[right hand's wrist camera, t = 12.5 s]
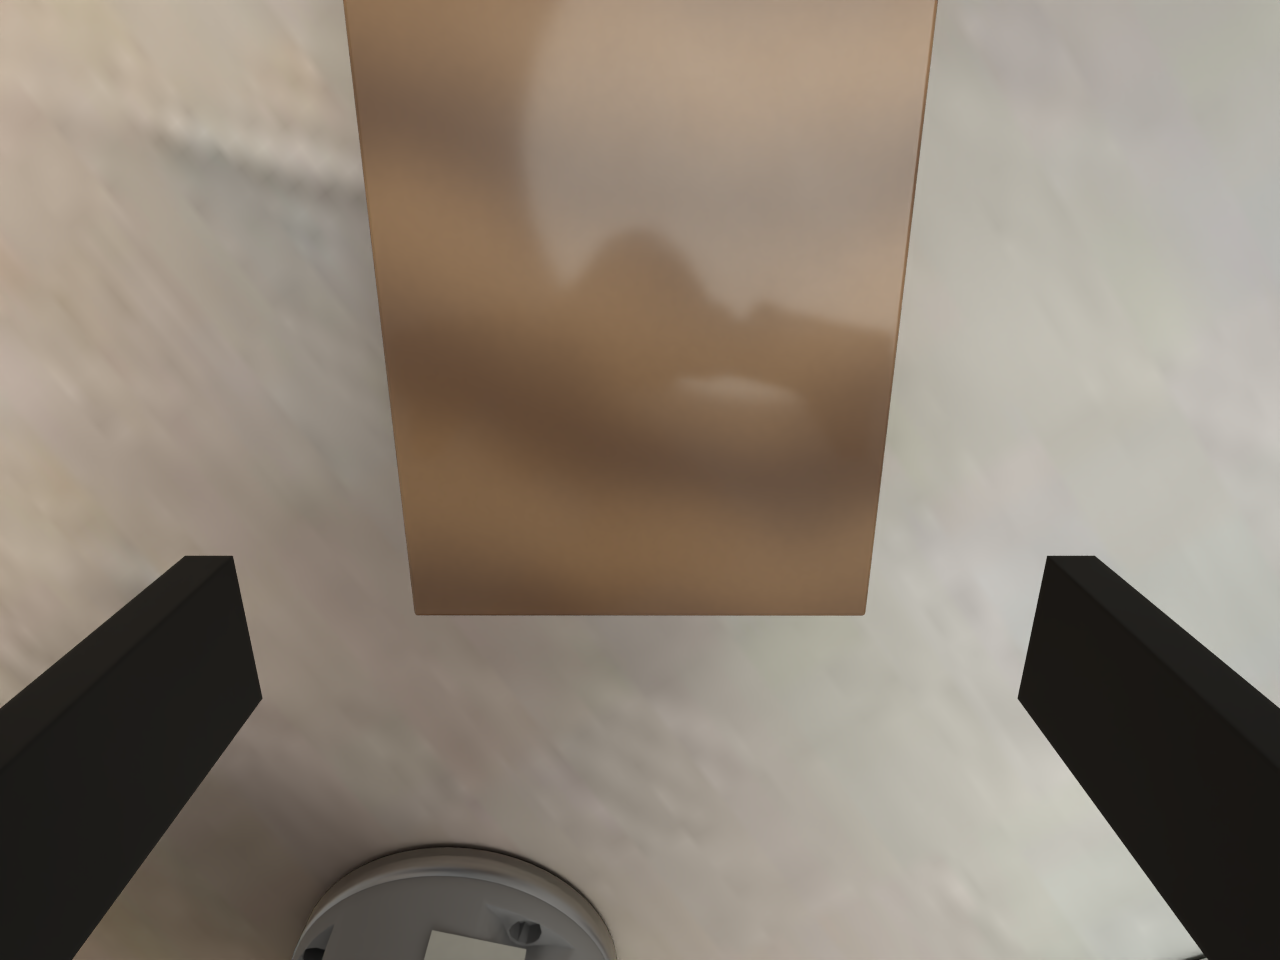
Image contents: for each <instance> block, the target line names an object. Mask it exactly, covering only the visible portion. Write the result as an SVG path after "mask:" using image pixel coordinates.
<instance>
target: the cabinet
mask: <svg viewBox="0 0 1280 960" xmlns="http://www.w3.org/2000/svg"><path fill="white" fill-rule="evenodd" d="M343 4H344V12H345V21H346V29H347V38H348V46H349V55H350V63H351V72H352V81H353V89H354V98H355V106H356V115H357V123H358V132H359V140H360V149H361V158H362V166H363V175H364V183H365V192H366V200H367V209H368V218H369V226H370V235H371V243H372V252H373V260H374V269H375V277H376V286H377V295H378V303H379V312H380V320H381V329H382V337H383V346H384V354H385V363H386V372H387V380H388V389H389V397H390V406H391V414H392V423H393V431H394V440H395V449H396V457H397V466H398V474H399V483H400V491H401V500H402V508H403V517H404V526H405V534H406V543H407V551H408V560H409V568H410V577H411V586H412V594H413V603H414V611H415V614H416V615H864V614H865V611H866V602H867V594H868V585H869V577H870V569H871V560H872V552H873V543H874V535H875V526H876V518H877V510H878V501H879V493H880V484H881V476H882V468H883V459H884V451H885V442H886V434H887V425H888V417H889V409H890V400H891V392H892V383H893V375H894V366H895V358H896V350H897V341H898V333H899V324H900V316H901V307H902V299H903V291H904V282H905V274H906V265H907V257H908V248H909V240H910V232H911V223H912V215H913V206H914V198H915V189H916V181H917V173H918V164H919V156H920V147H921V139H922V130H923V122H924V114H925V105H926V97H927V88H928V80H929V72H930V63H931V55H932V46H933V38H934V29H935V21H936V13H937V4H938V0H343Z"/></svg>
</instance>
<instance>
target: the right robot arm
mask: <svg viewBox="0 0 1280 960" xmlns="http://www.w3.org/2000/svg"><path fill="white" fill-rule="evenodd" d="M261 700H262V694H261V689H260V685H259V680H258V675H257V670H256V665H255V661H254V656H253V651H252V646H251V641H250V636H249V632H248V627H247V622H246V617H245V612H244V608H243V603H242V598H241V593H240V588H239V584H238V579H237V574H236V569H235V564H234V559H233V556H184V557H183V558H182V559H181V560H180V561H178V562H177V563H176V564H175V565H174V566H172V567H171V568H170V569H169V570H167V571H166V572H165V573H164V574H163V575H161V576H160V577H159V578H158V579H157V580H155V581H154V582H153V583H152V584H151V585H149V586H148V587H147V588H146V589H144V590H143V591H142V592H141V593H140V594H138V595H137V596H136V597H135V598H134V599H132V600H131V601H130V602H129V603H128V604H126V605H125V606H124V607H123V608H121V609H120V610H119V611H118V612H117V613H115V614H114V615H113V616H112V617H111V618H109V619H108V620H107V621H106V622H104V623H103V624H102V625H101V626H100V627H98V628H97V629H96V630H95V631H94V632H92V633H91V634H90V635H89V636H88V637H86V638H85V639H84V640H83V641H81V642H80V643H79V644H78V645H77V646H75V647H74V648H73V649H72V650H71V651H69V652H68V653H67V654H66V655H64V656H63V657H62V658H61V659H60V660H58V661H57V662H56V663H55V664H54V665H52V666H51V667H50V668H49V669H48V670H46V671H45V672H44V673H43V674H41V675H40V676H39V677H38V678H37V679H35V680H34V681H33V682H32V683H31V684H29V685H28V686H27V687H26V688H25V689H23V690H22V691H21V692H20V693H18V694H17V695H16V696H15V697H14V698H12V699H11V700H10V701H9V702H8V703H6V704H5V705H4V706H3V707H1V708H0V960H72V959H73V958H74V956H75V955H76V953H77V952H78V951H79V949H80V948H81V947H82V945H83V944H84V942H85V941H86V940H87V938H88V937H89V936H90V934H91V933H92V931H93V930H94V929H95V927H96V926H97V925H98V923H99V922H100V920H101V919H102V918H103V916H104V915H105V914H106V912H107V911H108V910H109V908H110V907H111V905H112V904H113V903H114V901H115V900H116V899H117V897H118V896H119V894H120V893H121V892H122V890H123V889H124V888H125V886H126V885H127V883H128V882H129V881H130V879H131V878H132V877H133V875H134V874H135V872H136V871H137V870H138V868H139V867H140V866H141V864H142V863H143V862H144V860H145V859H146V857H147V856H148V855H149V853H150V852H151V851H152V849H153V848H154V846H155V845H156V844H157V842H158V841H159V840H160V838H161V837H162V835H163V834H164V833H165V831H166V830H167V829H168V827H169V826H170V824H171V823H172V822H173V820H174V819H175V818H176V816H177V815H178V814H179V812H180V811H181V809H182V808H183V807H184V805H185V804H186V803H187V801H188V800H189V798H190V797H191V796H192V794H193V793H194V792H195V790H196V789H197V787H198V786H199V785H200V783H201V782H202V781H203V779H204V778H205V776H206V775H207V774H208V772H209V771H210V770H211V768H212V767H213V766H214V764H215V763H216V761H217V760H218V759H219V757H220V756H221V755H222V753H223V752H224V750H225V749H226V748H227V746H228V745H229V744H230V742H231V741H232V739H233V738H234V737H235V735H236V734H237V733H238V731H239V730H240V728H241V727H242V726H243V724H244V723H245V722H246V720H247V719H248V718H249V716H250V715H251V713H252V712H253V711H254V709H255V708H256V707H257V705H258V704H259V702H260V701H261ZM1018 700H1019V701H1020V702H1021V704H1022V705H1023V707H1024V708H1025V709H1026V711H1027V712H1028V713H1029V715H1030V716H1031V718H1032V719H1033V720H1034V722H1035V723H1036V724H1037V726H1038V727H1039V728H1040V730H1041V731H1042V733H1043V734H1044V735H1045V737H1046V738H1047V739H1048V741H1049V742H1050V744H1051V745H1052V746H1053V748H1054V749H1055V750H1056V752H1057V753H1058V755H1059V756H1060V757H1061V759H1062V760H1063V761H1064V763H1065V764H1066V766H1067V767H1068V768H1069V770H1070V771H1071V772H1072V774H1073V775H1074V776H1075V778H1076V779H1077V781H1078V782H1079V783H1080V785H1081V786H1082V787H1083V789H1084V790H1085V792H1086V793H1087V794H1088V796H1089V797H1090V798H1091V800H1092V801H1093V803H1094V804H1095V805H1096V807H1097V808H1098V809H1099V811H1100V812H1101V814H1102V815H1103V816H1104V818H1105V819H1106V820H1107V822H1108V823H1109V824H1110V826H1111V827H1112V829H1113V830H1114V831H1115V833H1116V834H1117V835H1118V837H1119V838H1120V840H1121V841H1122V842H1123V844H1124V845H1125V846H1126V848H1127V849H1128V851H1129V852H1130V853H1131V855H1132V856H1133V857H1134V859H1135V860H1136V862H1137V863H1138V864H1139V866H1140V867H1141V868H1142V870H1143V871H1144V872H1145V874H1146V875H1147V877H1148V878H1149V879H1150V881H1151V882H1152V883H1153V885H1154V886H1155V888H1156V889H1157V890H1158V892H1159V893H1160V894H1161V896H1162V897H1163V899H1164V900H1165V901H1166V903H1167V904H1168V905H1169V907H1170V908H1171V910H1172V911H1173V912H1174V914H1175V915H1176V916H1177V918H1178V919H1179V920H1180V922H1181V923H1182V925H1183V926H1184V927H1185V929H1186V930H1187V931H1188V933H1189V934H1190V936H1191V937H1192V938H1193V940H1194V941H1195V942H1196V944H1197V945H1198V947H1199V948H1200V949H1201V951H1202V952H1203V953H1204V955H1205V956H1206V958H1207V959H1208V960H1280V708H1279V707H1277V706H1276V705H1275V704H1274V703H1272V702H1271V701H1270V700H1269V699H1268V698H1266V697H1265V696H1264V695H1263V694H1262V693H1260V692H1259V691H1258V690H1257V689H1255V688H1254V687H1253V686H1252V685H1251V684H1249V683H1248V682H1247V681H1246V680H1245V679H1243V678H1242V677H1241V676H1240V675H1239V674H1237V673H1236V672H1235V671H1234V670H1232V669H1231V668H1230V667H1229V666H1228V665H1226V664H1225V663H1224V662H1223V661H1222V660H1220V659H1219V658H1218V657H1217V656H1216V655H1214V654H1213V653H1212V652H1211V651H1209V650H1208V649H1207V648H1206V647H1205V646H1203V645H1202V644H1201V643H1200V642H1199V641H1197V640H1196V639H1195V638H1194V637H1192V636H1191V635H1190V634H1189V633H1188V632H1186V631H1185V630H1184V629H1183V628H1182V627H1180V626H1179V625H1178V624H1177V623H1176V622H1174V621H1173V620H1172V619H1171V618H1169V617H1168V616H1167V615H1166V614H1165V613H1163V612H1162V611H1161V610H1160V609H1159V608H1157V607H1156V606H1155V605H1154V604H1152V603H1151V602H1150V601H1149V600H1148V599H1146V598H1145V597H1144V596H1143V595H1142V594H1140V593H1139V592H1138V591H1137V590H1136V589H1134V588H1133V587H1132V586H1131V585H1129V584H1128V583H1127V582H1126V581H1125V580H1123V579H1122V578H1121V577H1120V576H1119V575H1117V574H1116V573H1115V572H1114V571H1113V570H1111V569H1110V568H1109V567H1108V566H1106V565H1105V564H1104V563H1103V562H1102V561H1100V560H1099V559H1098V558H1097V557H1096V556H1047V559H1046V564H1045V569H1044V574H1043V579H1042V584H1041V588H1040V593H1039V598H1038V603H1037V608H1036V612H1035V617H1034V622H1033V627H1032V632H1031V636H1030V641H1029V646H1028V651H1027V656H1026V661H1025V665H1024V670H1023V675H1022V680H1021V685H1020V689H1019V694H1018ZM292 960H617V957H616V952H615V947H614V944H613V941H612V938H611V936H610V934H609V931H608V929H607V927H606V925H605V924H604V922H603V921H602V919H601V917H600V916H599V914H598V913H597V912H596V911H595V909H594V908H593V907H592V906H591V905H590V904H589V903H588V902H587V901H586V900H585V899H584V898H583V897H582V896H581V895H580V894H579V893H578V892H577V891H576V890H574V889H573V888H572V887H571V886H569V885H568V884H566V883H565V882H563V881H562V880H561V879H559V878H558V877H556V876H554V875H552V874H550V873H549V872H547V871H545V870H543V869H541V868H539V867H537V866H534V865H532V864H530V863H527V862H525V861H522V860H519V859H516V858H513V857H510V856H506V855H503V854H499V853H494V852H489V851H484V850H477V849H469V848H453V847H445V848H426V849H417V850H411V851H405V852H401V853H397V854H393V855H389V856H386V857H383V858H380V859H377V860H375V861H372V862H370V863H368V864H366V865H363V866H361V867H359V868H358V869H356V870H354V871H352V872H351V873H349V874H347V875H346V876H345V877H343V878H342V879H341V880H339V881H338V882H337V883H336V884H334V885H333V886H332V887H331V888H330V889H329V890H328V891H327V892H326V893H325V894H324V896H323V897H322V898H321V899H320V900H319V902H318V903H317V905H316V906H315V908H314V909H313V911H312V913H311V915H310V917H309V919H308V922H307V924H306V926H305V928H304V930H303V933H302V935H301V937H300V939H299V942H298V944H297V946H296V948H295V951H294V954H293V957H292Z"/></svg>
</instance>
